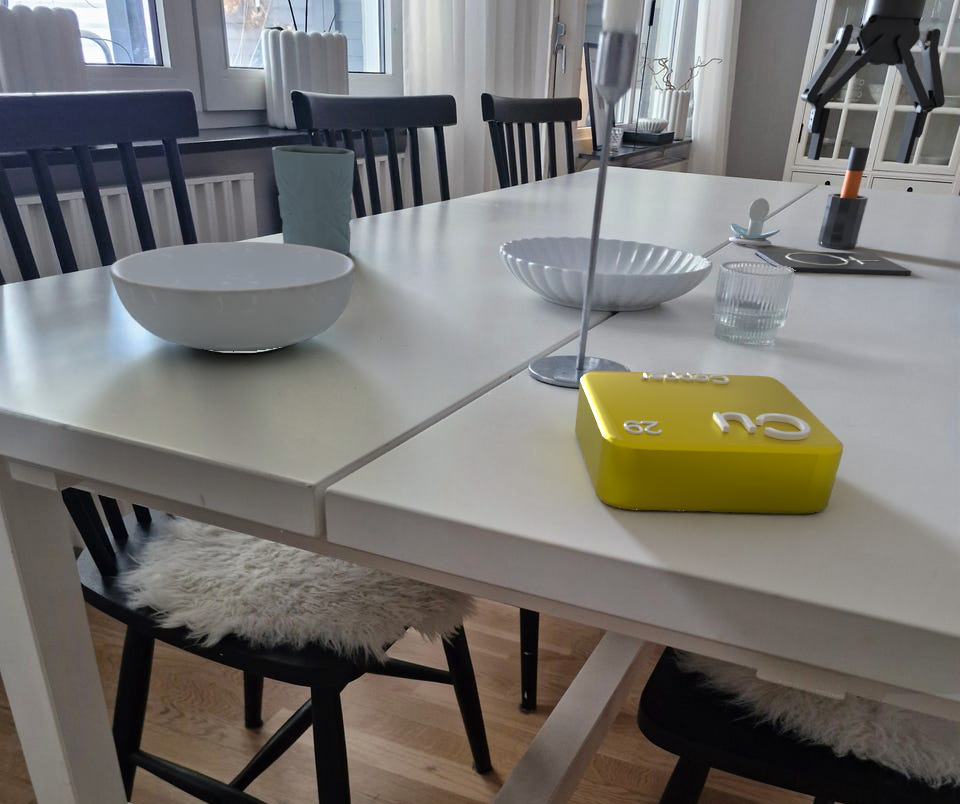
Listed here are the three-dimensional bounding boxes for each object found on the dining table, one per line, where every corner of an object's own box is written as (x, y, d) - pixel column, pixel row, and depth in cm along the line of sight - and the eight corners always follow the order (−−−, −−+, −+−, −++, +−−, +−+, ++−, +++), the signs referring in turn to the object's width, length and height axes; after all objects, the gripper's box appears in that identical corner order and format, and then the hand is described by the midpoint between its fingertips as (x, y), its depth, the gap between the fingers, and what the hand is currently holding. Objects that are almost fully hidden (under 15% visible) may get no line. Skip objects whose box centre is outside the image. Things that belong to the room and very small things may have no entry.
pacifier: (769, 251, 134) (779, 244, 138) (778, 205, 130) (788, 199, 134) (721, 244, 136) (732, 238, 141) (729, 199, 133) (740, 194, 137)
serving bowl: (249, 302, 95) (242, 232, 91) (402, 340, 85) (401, 263, 81) (74, 342, 80) (57, 260, 76) (234, 393, 71) (224, 302, 67)
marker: (842, 241, 140) (865, 146, 132) (848, 244, 138) (872, 148, 130) (826, 240, 140) (848, 146, 132) (832, 243, 137) (855, 147, 130)
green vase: (263, 251, 117) (254, 147, 111) (317, 241, 124) (311, 143, 118) (320, 263, 113) (315, 155, 106) (373, 252, 120) (370, 150, 113)
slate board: (873, 257, 132) (874, 252, 131) (910, 275, 122) (912, 270, 121) (754, 253, 130) (755, 248, 130) (781, 271, 120) (782, 265, 120)
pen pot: (846, 243, 141) (858, 194, 138) (861, 249, 137) (874, 199, 133) (812, 241, 141) (823, 192, 137) (825, 248, 136) (837, 198, 132)
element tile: (765, 430, 68) (779, 368, 66) (837, 517, 56) (858, 444, 53) (570, 425, 68) (577, 361, 65) (599, 511, 55) (609, 437, 53)
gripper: (974, -11, 125) (926, 161, 136) (800, -20, 123) (767, 155, 135) (1004, -14, 118) (951, 167, 130) (821, -24, 117) (784, 160, 128)
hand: (857, 161), depth 132 cm, fingers open, 13 cm apart
